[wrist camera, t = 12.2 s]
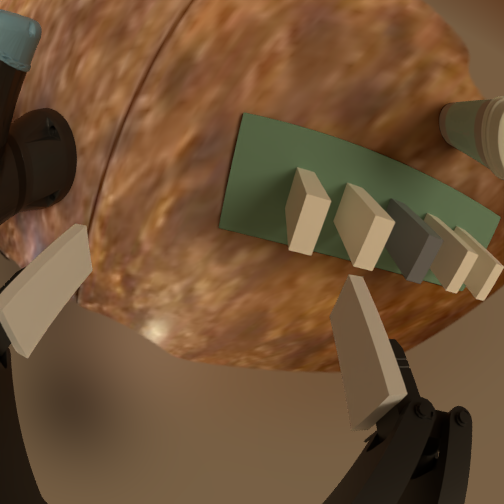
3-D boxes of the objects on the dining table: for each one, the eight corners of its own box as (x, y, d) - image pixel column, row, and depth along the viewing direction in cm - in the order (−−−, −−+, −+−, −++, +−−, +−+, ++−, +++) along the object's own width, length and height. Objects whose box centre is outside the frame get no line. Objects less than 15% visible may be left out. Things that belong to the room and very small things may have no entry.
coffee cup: (468, 167, 26) (527, 199, 16) (422, 140, 26) (484, 164, 15) (483, 112, 22) (545, 127, 12) (438, 80, 22) (502, 80, 11)
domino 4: (441, 256, 32) (475, 298, 24) (456, 225, 30) (496, 263, 21) (450, 259, 33) (483, 300, 24) (464, 229, 30) (503, 266, 21)
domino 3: (411, 245, 32) (445, 290, 24) (427, 212, 30) (468, 250, 21) (422, 249, 32) (456, 293, 24) (437, 217, 30) (478, 255, 21)
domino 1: (284, 207, 31) (288, 250, 23) (297, 167, 29) (306, 193, 20) (301, 212, 31) (311, 255, 23) (314, 172, 29) (331, 201, 20)
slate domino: (376, 234, 32) (406, 280, 23) (391, 198, 29) (429, 234, 21) (388, 238, 32) (420, 283, 23) (403, 203, 30) (443, 240, 21)
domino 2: (333, 221, 32) (353, 266, 23) (347, 182, 29) (375, 215, 21) (348, 225, 32) (372, 271, 23) (362, 187, 29) (395, 222, 21)
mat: (219, 226, 34) (218, 227, 33) (244, 112, 27) (243, 112, 26) (461, 289, 35) (462, 291, 35) (499, 216, 29) (500, 217, 28)
